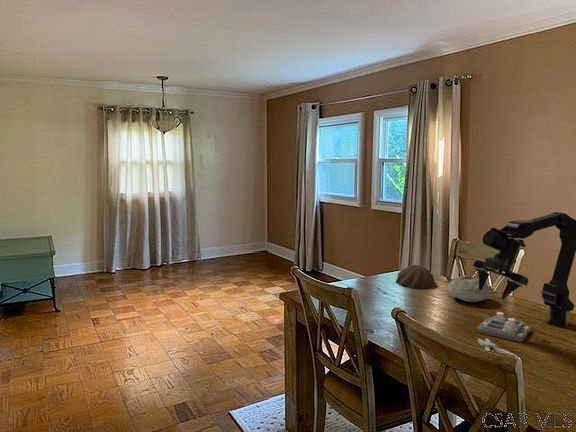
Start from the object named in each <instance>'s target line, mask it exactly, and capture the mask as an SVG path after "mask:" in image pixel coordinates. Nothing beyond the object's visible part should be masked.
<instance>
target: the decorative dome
mask: <svg viewBox="0 0 576 432" xmlns="http://www.w3.org/2000/svg"><path fill="white" fill-rule="evenodd" d="M396 276H397V278H396V280H395V282H396V284H398V286H400V287H406V288H408V289H422V290H424V289H427V288H434V286H435V285H436V282H435V281H436V280H435V279H434V275H433V274H432V273H431V271H430V270H429V269H427V268H426V267H424V266H422V265H420V264H411V265H408V266H406V267H404V268H403V269H401V270H400V271H399V272H398V273H397V275H396Z"/></svg>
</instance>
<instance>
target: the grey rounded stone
mask: <svg viewBox="0 0 576 432" xmlns="http://www.w3.org/2000/svg"><path fill="white" fill-rule="evenodd" d="M447 290H448V292H449V294H450V295H451V296H452V297H455V298H457V299H460V300H461V301H463V302H466V303H468V302H469V303H478V302H481V301H483V300H487V299H488V298H489V297H490V296H491V294H492V293H491V287H490V286H489V285H488V283H487V282H485V284H484V286H483V288H482V290H479V277H474V276H471V275H463V276H462V275H461V276H456V277H455V278H452V279H451V280H450V282H448V285H447Z"/></svg>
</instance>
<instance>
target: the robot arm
mask: <svg viewBox="0 0 576 432" xmlns="http://www.w3.org/2000/svg"><path fill="white" fill-rule="evenodd" d="M551 227H555V228H556V229H558V230H559V239H560V242H561V244H560V249H559V252H558V256H557V260H556V263H555V267H554V271H553V274H552V278H551V280H550V281H548V282H544V283H543V286H542V290H541V292H540V293H541V298H542V300H543V303H544V305H545V306H548V307H549V312H548V313H549V315H548V319H547V320H546V322H545V323H546V324H549V325H551V326H552V325H553V326H558V327H563V328H566V327H567V326H568V325H569V323H570V321H569V320H568V312H569V313H570V312H572V311H574V308H575V304H574V303H573V302H572V301H571V299H570V298H569V297H570V289H569V287H568V280H569V278H570V273H571V269H572V266H573V264H574V259H575V257H576V219H574V217H573V218H572V217H571V216H569V215H568V214H567V213H564V212H558V211H555V212H552V213H549V214H546V215H541V216H538V217H535V218H531V219H527V220H525V219H523V220H521V219H518V220H510V221H508V222H507V224H506V225H505V226H503V227H502V228H500V229H498V228H497V227H491V228H490V230H487V231H486V232H485V234H483V237H482V243H483V245H485V246H487V247H489V248H492V249H493V250H496V251H498V253H497V252H495V254H494V256H488V257H485V259H484V261H482V260H479V259H476V260H475V261H474V262H473V264H472V267H474V270H475V271H477V273H478V278H479V290H482V288H483V286H484V284H485V283H487V281H488V278H489V276H490V273H489V272H491V273H495V274H497V275H499V276H503V277H505V278H508V279H507V280H506V285H505V289H504V290H503V293H502V296H501V299H502V300H505V299H507V297H508V296H510V295H511V294H512V293H514V291H515V290H517V289H518V288H523V286H524V287H527V286H528V284H529V283H530V282H529V278H528V277H527V276H524V275H522V274H519V273H516V272H513V271H512V270H511V269H512V268H513V265H514V264H516V263H517V260H516V257H517V255H518V253H519V250H520V248H521V247H522V248H526V247H527V245H526V243H525V241H524V240H523V239H527V238H529V237H531V236H532V235H533V234H534V233H535V232H537V231H541V230H545V229H549V228H551Z"/></svg>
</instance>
